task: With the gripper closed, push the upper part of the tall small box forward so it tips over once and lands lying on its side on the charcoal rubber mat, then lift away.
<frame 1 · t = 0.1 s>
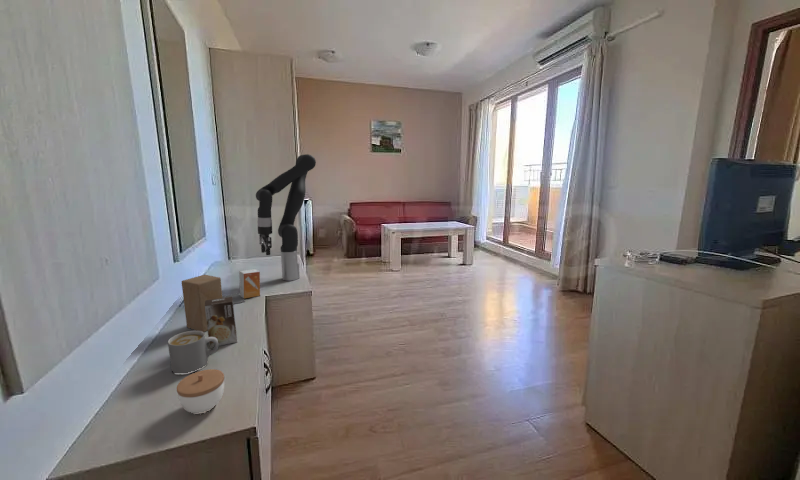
hand: (265, 253, 186), 17 cm above the cabinet, tool pointing down, fingers open, 8 cm apart
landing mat: (221, 301, 161), on the cabinet
lidded jar: (204, 407, 88), on the cabinet
coffee box: (223, 342, 122), on the cabinet
small box: (250, 296, 168), on the cabinet, touching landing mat
wooden block: (206, 325, 135), on the cabinet
coffee mug: (196, 365, 107), on the cabinet
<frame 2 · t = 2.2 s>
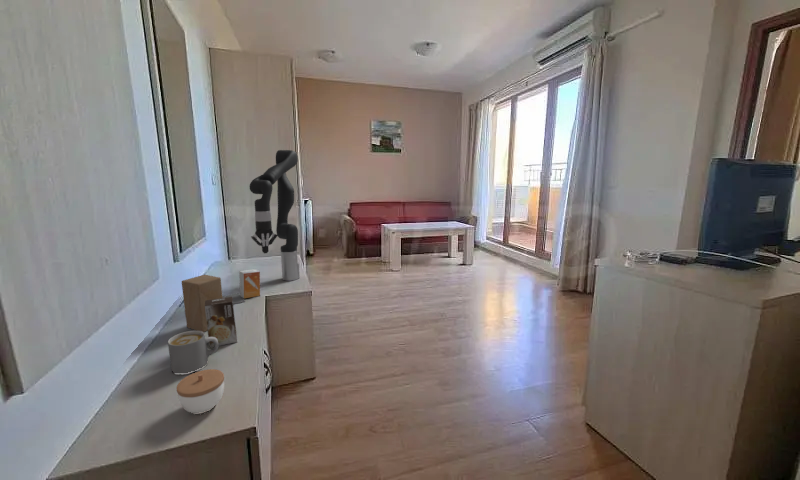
hand: (265, 253, 170), 21 cm above the cabinet, tool pointing down, fingers closed
nothing on the cabinet moved.
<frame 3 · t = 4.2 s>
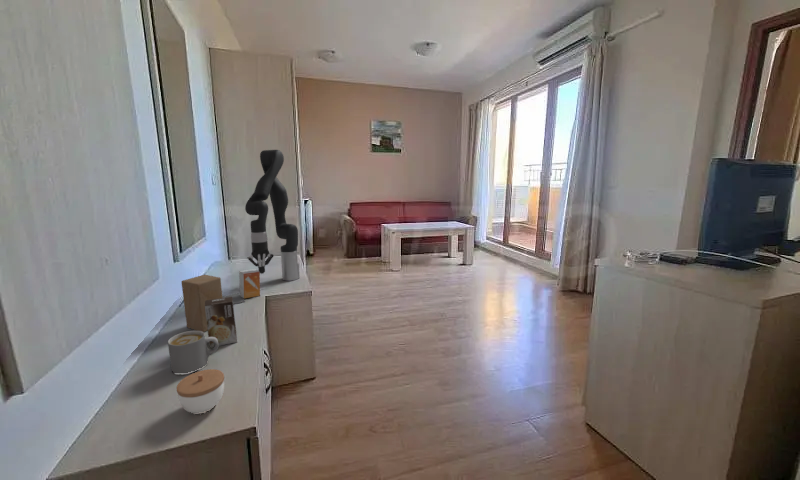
hand: (261, 273, 170), 11 cm above the cabinet, tool pointing down, fingers closed
small box: (250, 296, 168), on the cabinet, touching gripper, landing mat
everything else where it was.
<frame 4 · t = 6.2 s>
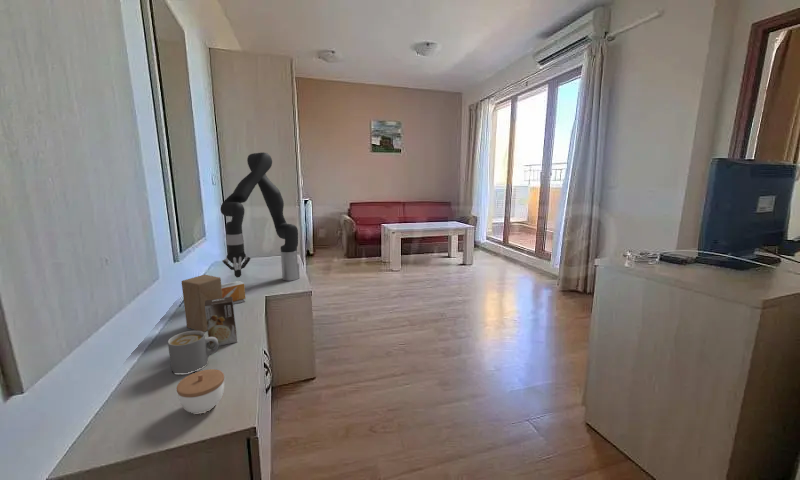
hand: (238, 277, 163), 11 cm above the cabinet, tool pointing down, fingers closed
small box: (243, 289, 165), point 4 cm above the cabinet, touching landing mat
everything else where it was.
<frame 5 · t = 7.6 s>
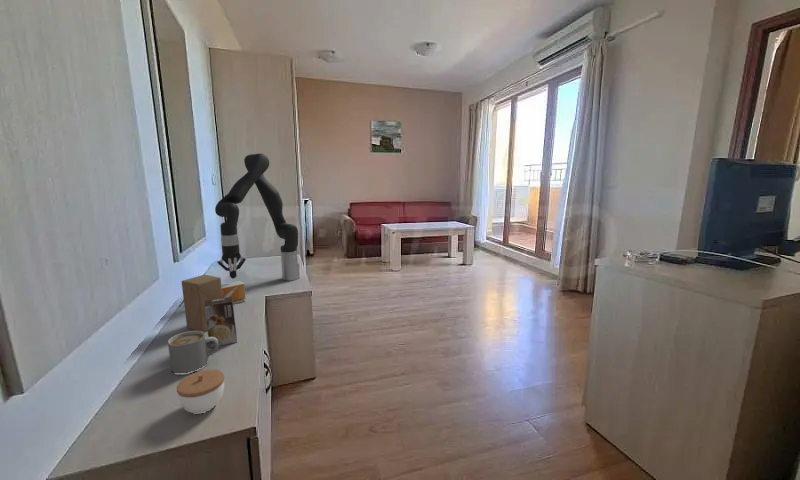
hand: (233, 278, 162), 11 cm above the cabinet, tool pointing down, fingers closed
nothing on the cabinet moved.
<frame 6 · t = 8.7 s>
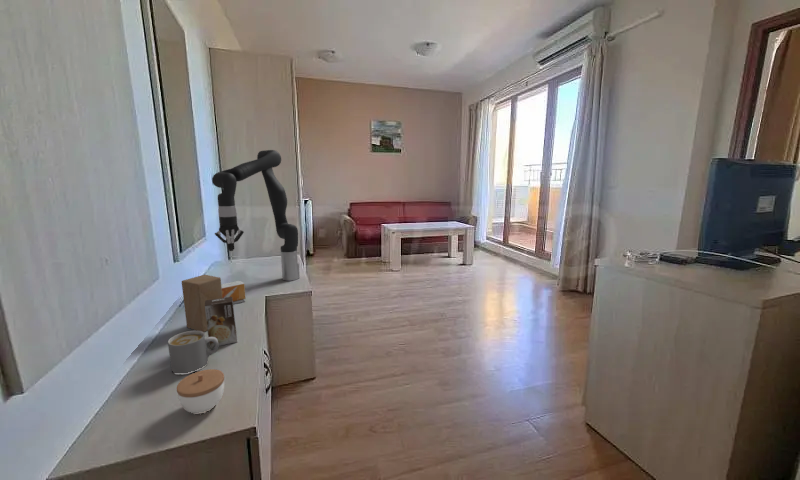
hand: (231, 250, 160), 25 cm above the cabinet, tool pointing down, fingers closed
nothing on the cabinet moved.
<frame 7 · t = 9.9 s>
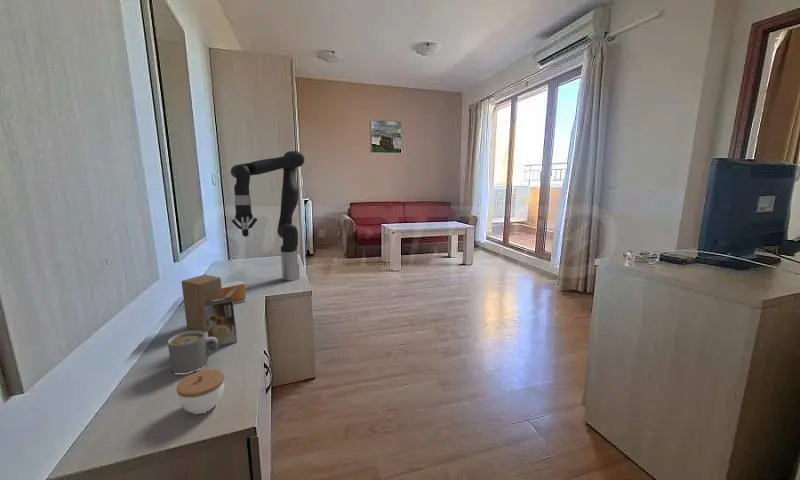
hand: (245, 236, 175), 29 cm above the cabinet, tool pointing down, fingers closed
nothing on the cabinet moved.
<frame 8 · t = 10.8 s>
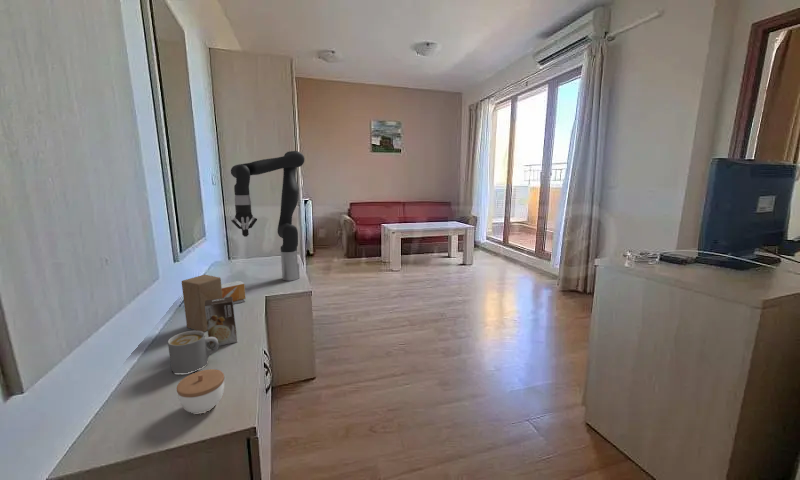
hand: (245, 236, 175), 29 cm above the cabinet, tool pointing down, fingers closed
nothing on the cabinet moved.
at the end: small box tilted 90°; small box inside the target area (4.0 cm from its centre), point 4.5 cm above the cabinet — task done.
